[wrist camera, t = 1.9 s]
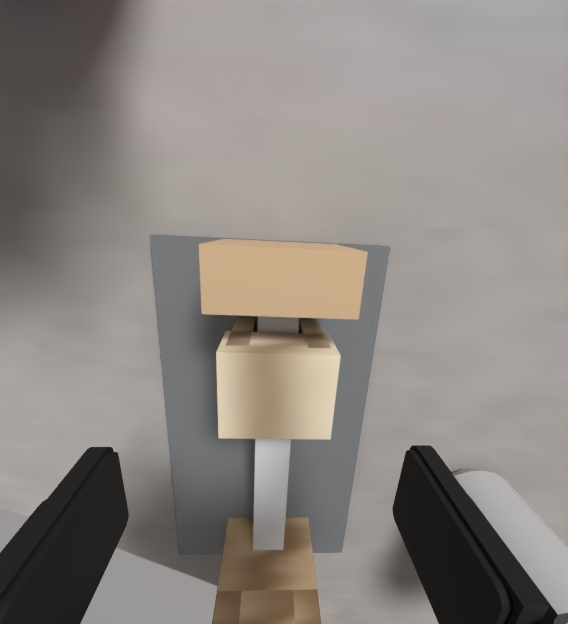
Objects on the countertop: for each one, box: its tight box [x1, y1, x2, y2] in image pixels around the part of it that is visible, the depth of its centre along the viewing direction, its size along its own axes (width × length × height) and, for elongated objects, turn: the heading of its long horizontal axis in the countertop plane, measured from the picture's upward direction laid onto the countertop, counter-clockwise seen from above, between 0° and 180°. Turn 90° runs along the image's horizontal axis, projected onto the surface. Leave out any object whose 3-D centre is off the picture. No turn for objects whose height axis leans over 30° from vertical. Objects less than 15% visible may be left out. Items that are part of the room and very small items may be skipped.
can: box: [452, 469, 568, 615], centre depth 19 cm, size 8×8×12 cm
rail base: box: [150, 235, 390, 554], centre depth 19 cm, size 15×28×7 cm, turn 177°
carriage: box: [216, 318, 341, 440], centre depth 16 cm, size 6×5×5 cm
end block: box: [212, 517, 321, 624], centre depth 21 cm, size 7×4×8 cm, turn 87°
